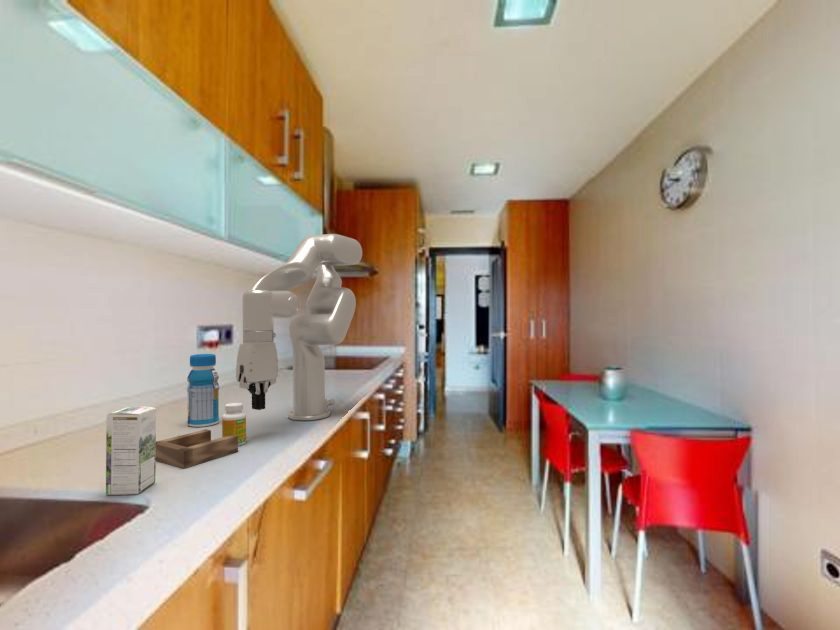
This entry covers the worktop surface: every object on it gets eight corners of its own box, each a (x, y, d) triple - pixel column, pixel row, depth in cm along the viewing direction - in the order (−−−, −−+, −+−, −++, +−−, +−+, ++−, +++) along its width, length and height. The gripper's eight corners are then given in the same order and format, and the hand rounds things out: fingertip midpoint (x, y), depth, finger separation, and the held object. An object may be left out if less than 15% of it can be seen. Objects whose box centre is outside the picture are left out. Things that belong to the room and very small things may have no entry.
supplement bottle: (237, 447, 106) (237, 406, 106) (217, 446, 107) (217, 406, 107) (250, 441, 111) (250, 402, 111) (231, 440, 112) (230, 401, 112)
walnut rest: (205, 444, 109) (205, 429, 109) (238, 451, 103) (238, 435, 103) (151, 459, 98) (151, 442, 98) (183, 468, 92) (183, 451, 92)
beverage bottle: (196, 429, 123) (195, 356, 123) (181, 424, 128) (180, 355, 128) (225, 423, 130) (224, 354, 130) (210, 419, 135) (209, 353, 135)
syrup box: (124, 483, 84) (124, 406, 84) (157, 482, 84) (156, 405, 84) (105, 496, 78) (104, 413, 78) (140, 494, 79) (139, 412, 79)
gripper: (271, 336, 124) (271, 402, 124) (223, 338, 111) (223, 412, 111) (290, 336, 120) (290, 405, 120) (243, 339, 107) (243, 416, 107)
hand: (258, 408), depth 115 cm, fingers closed
